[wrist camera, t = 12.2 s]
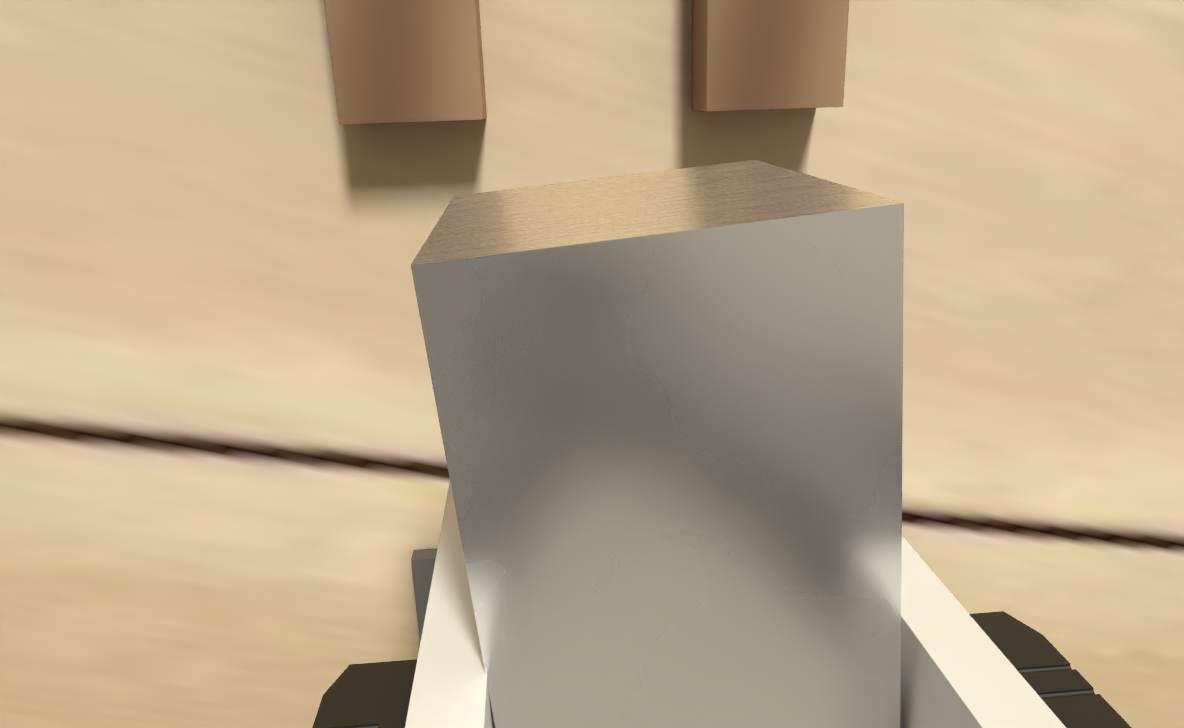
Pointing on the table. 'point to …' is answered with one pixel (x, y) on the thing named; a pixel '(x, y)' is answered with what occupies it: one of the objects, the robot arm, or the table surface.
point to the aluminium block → (676, 445)
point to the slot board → (455, 63)
